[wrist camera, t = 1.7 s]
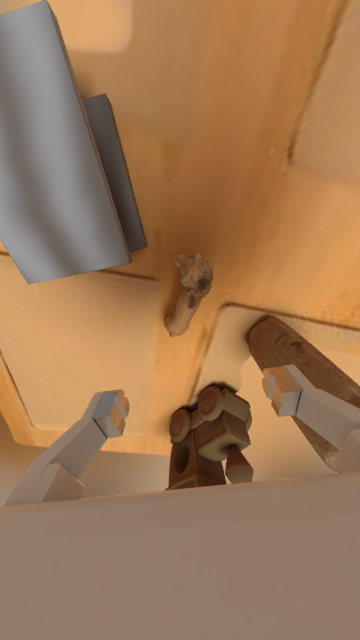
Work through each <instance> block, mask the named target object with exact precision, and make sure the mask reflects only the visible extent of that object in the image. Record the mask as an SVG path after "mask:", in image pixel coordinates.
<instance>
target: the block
mask: <svg viewBox="0 0 360 640" xmlns="http://www.w3.org/2000/svg"><path fill="white" fill-rule="evenodd" d="M247 344H248V347H249V351H250V353H251V355H252V357H253V358H254V360H255V361H256V363H257V364H258V366H259V368H260V369H261V371H262V373H263V370H264V369H265V368H272V367H278V366H285V365H292V364H293V365H295V366H296V367H297V368H298V369H299V371H300V372H301V373H302V374H303V375H304V376H305V377H306V378H307V379H308V380H309V381H310V382H311V384H312V385H313V386H314V387H315V388H316V389H321V390H323V391H325V392H327V393H329V394H331V395H333V396H335V397H337V398H339V399H341V400H343V401H345V402H347V403H349V404H351V405H353V406H355V407H357V408H359V409H360V386H359V385H357V384H356V383H355V382H354V381H353V380H352V379H351V378H350V377H349V376H347V375H346V374H345V373H344V372H343V371H342V370H340V369H339V368H338V367H337V366H336V365H335V364H334V363H333V362H331V361H330V360H329V359H328V358H327V357H326V356H324V355H323V354H322V353H321V352H320V351H318V350H317V349H316V348H315V347H314V346H313V345H312V344H310V343H309V342H308V341H307V340H305V339H304V338H303V337H302V336H300V335H299V334H298V333H297V332H295V331H294V330H293V329H292V328H290V327H289V326H287V325H286V324H285V323H283V322H282V321H280V320H279V319H277V318H274V317H269V318H266V319H265V320H264V321H262V322H260V323H259V324H258V325H256V326H255V327H254V328H253V329H252V330H251V332H250V336H249V338H248V341H247ZM291 417H292V418H293V419H294V421H295V423H296V424H297V425H298V427H299V428H300V430H301V431H302V432H303V434H304V435H305V437H306V438H307V440H308V441H309V442H310V444H311V445H312V446H313V448H314V449H315V451H316V452H317V453H318V454H319V456H320V457H321V458H322V460H323V461H324V462H325V464H326V465H327V466H328V467H329V468H331V469H332V470H334V471H336V472H338V473H341V471H340V470H339V468H338V467H337V465H336V464H335V459H336V457H337V455H338V453H339V451H340V450H338V449H337V448H336V447H335V446H333V445H332V444H331V443H330V442H328V441H327V440H326V439H324V438H323V437H322V436H321V435H319V434H318V433H317V432H315V431H314V430H313V429H312V428H310V427H309V426H308V425H307V424H305V423H304V422H303V421H301V420H300V419H299V418H298V417H296V415H292V416H291Z"/></svg>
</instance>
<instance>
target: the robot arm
mask: <svg viewBox="0 0 360 640" xmlns="http://www.w3.org/2000/svg"><path fill="white" fill-rule="evenodd" d="M263 375H264V378H263V379H262V385H263V389H264V392H265V394H266V396H267V397H268V398H270V399H271V400H272V406H273V408H274V410H275V412H276V413H277V415H278V417H281V416H292V415H296V417H298V418H299V419H300V420H301V421H303V422H304V423H305V424H307V425H308V426H309V427H310V428H312V429H313V430H314V431H315V432H317V433H318V434H319V435H321V436H322V437H323V438H324V439H326V440H327V441H328V442H330V443H331V444H332V445H333V446H335V447H336V448H337V449H338V450H340V451H339V453H338V455H337V457H336V459H335V464H336V465H337V467H338V468H339V470H340V471H341V473H340V474H330V475H320V476H310V477H300V478H290V479H289V478H288V479H278V480H268V481H257V482H247V483H237V484H226V485H216V486H206V487H195V488H185V489H175V490H164V491H155V492H145V493H134V494H123V495H114V496H104V497H93V498H83V499H81V498H82V495H83V492H84V489H85V487H84V485H83V484H82V483H81V482H80V481H79V480H78V478H79V477H80V476H81V474H82V473H83V472H84V470H85V469H86V467H87V466H88V465H89V463H90V462H91V461H92V459H93V458H94V457H95V455H96V454H97V453H98V451H99V450H100V448H101V447H102V446H103V444H104V443H105V442H106V440H107V438H112V437H119V436H122V434H123V431H124V427H125V424H126V423H125V421H124V419H125V418H126V417H127V416H128V412H129V401H128V399H127V398H126V397H124V394H125V393H124V391H123V390H112V391H104V392H97V393H95V394H94V396H93V398H92V400H91V401H90V403H89V405H88V407H87V409H86V411H85V413H84V415H83V417H82V419H81V420H80V421H77V422H76V423H75V424H74V425H73V426H72V427H71V428H70V429H68V430H67V431H66V432H65V433H64V434H63V435H62V436H61V437H60V438H59V439H58V440H56V441H55V442H54V443H53V444H52V445H51V446H50V447H49V448H48V449H47V450H46V451H45V452H43V454H41V455H40V456H39V457H38V458H37V459H36V460H35V461H34V462H32V463H31V464H30V465H29V467H28V468H27V470H26V471H25V473H24V475H23V476H22V478H21V479H20V481H19V483H18V484H17V485H16V487H15V489H14V490H13V492H12V493H11V495H10V497H9V498H8V500H7V501H6V503H5V504H4V506H0V640H360V409H359V408H357V407H355V406H353V405H351V404H349V403H347V402H345V401H343V400H341V399H339V398H337V397H335V396H333V395H331V394H329V393H327V392H325V391H323V390H321V389H316V388H315V387H314V386H313V385H312V384H311V382H310V381H309V380H308V379H307V378H306V377H305V376H304V375H303V374H302V373H301V372H300V371H299V369H298V368H297V367H296V366H295V365H293V364H292V365H285V366H278V367H272V368H265V369H264V370H263Z"/></svg>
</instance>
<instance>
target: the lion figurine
mask: <svg viewBox="0 0 360 640" xmlns="http://www.w3.org/2000/svg"><path fill="white" fill-rule="evenodd" d="M174 262H175V265H176V266H177V267H179V268H180V272H181V273H180V274H179V278H180V289H181V293H180V295H179V297H178V300H177V304H176V310H175V314H174V315H171V316H166V317H165V318H164V326H165V327H166V328H167V331H168V332H169V334H170V336H171V337H174V336H176V335H177V336H178V335H182V334H183V333H184V332H185V331H186V330H187V328H188V326H189V322H190V320H191V318H192V317H193V315H194V313H195V312H196V310H197V308H198V306H199V304H200V301H201V299H202V298H203V297H205V295H206V294H208V293H209V291H210V289H211V284H212V280H213V278H212V275H213V274H212V272H213V271H212V265H210V262H209V259H207V257H204V256H203V255H201V254H200V253H198V252H197V253H196V254H194V255H193V256H192V257H191V258H189V257H185V256H184V255H183V254H180V255H177V256H176V257H175V258H174Z"/></svg>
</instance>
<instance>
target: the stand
mask: <svg viewBox="0 0 360 640" xmlns="http://www.w3.org/2000/svg"><path fill="white" fill-rule="evenodd" d="M0 241H1V242H2V244H3V245H4V247H5V249H6V250H7V252H8V253H9V255H10V256H11V258H12V260H13V261H14V263H15V264H16V266H17V267H18V269H19V271H20V272H21V274H22V275H23V277H24V278H25V280H26V282H27V283H28V284H31V283H36V282H41V281H46V280H51V279H56V278H61V277H66V276H71V275H76V274H81V273H86V272H91V271H96V270H101V269H106V268H111V267H115V266H120V265H125V264H130V263H132V260H131V257H130V253H129V251H132V250H137V249H142V248H146V247H147V243H146V239H145V235H144V231H143V227H142V223H141V219H140V216H139V212H138V208H137V204H136V200H135V196H134V192H133V188H132V184H131V180H130V177H129V173H128V169H127V165H126V161H125V157H124V153H123V149H122V145H121V141H120V138H119V134H118V130H117V126H116V122H115V118H114V114H113V110H112V106H111V103H110V101H109V99H108V98H107V96H106V94H102V95H98V96H95V97H91V98H88V99H84V100H82V98H81V95H80V92H79V89H78V86H77V82H76V79H75V76H74V73H73V69H72V66H71V63H70V60H69V56H68V53H67V50H66V47H65V44H64V40H63V37H62V34H61V31H60V27H59V24H58V21H57V18H56V16H55V15H54V13H53V11H52V9H51V7H50V5H49V4H48V2H47V0H43V1H41V2H37V3H34V4H31V5H29V6H25V7H23V8H20V9H17V10H14V11H11V12H8V13H5V14H2V15H0Z"/></svg>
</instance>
